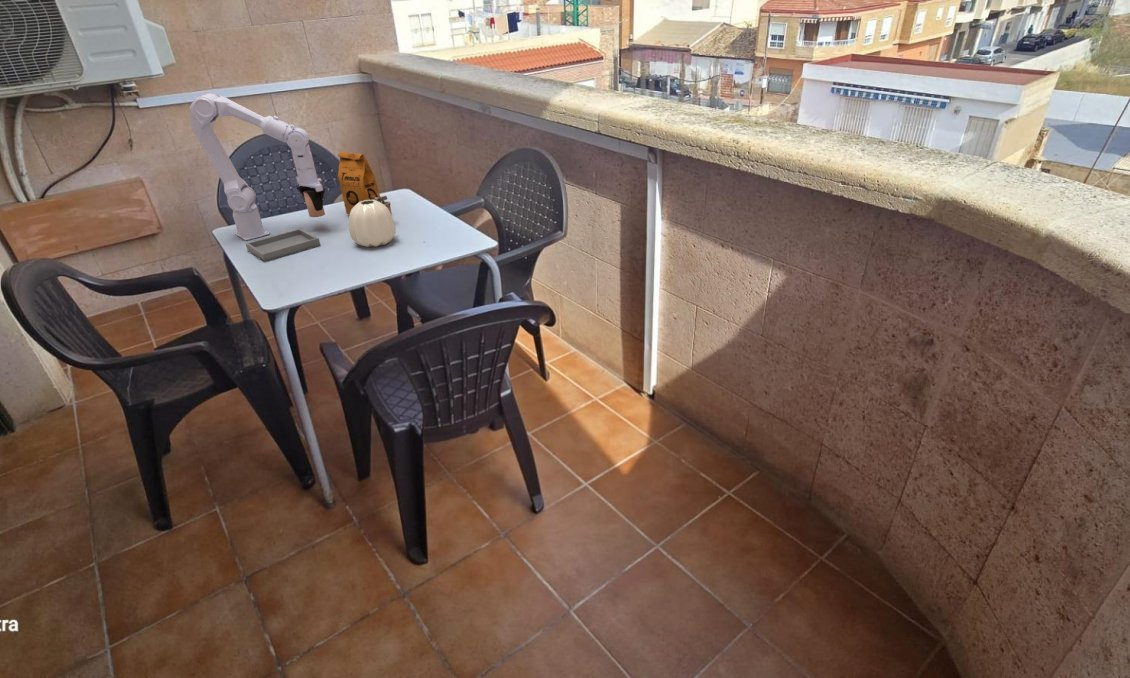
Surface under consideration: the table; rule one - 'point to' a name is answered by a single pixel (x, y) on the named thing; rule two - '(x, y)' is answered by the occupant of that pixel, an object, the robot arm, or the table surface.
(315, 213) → the cup
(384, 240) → the vase
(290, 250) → the tray
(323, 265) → the table surface
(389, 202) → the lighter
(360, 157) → the coffee package
